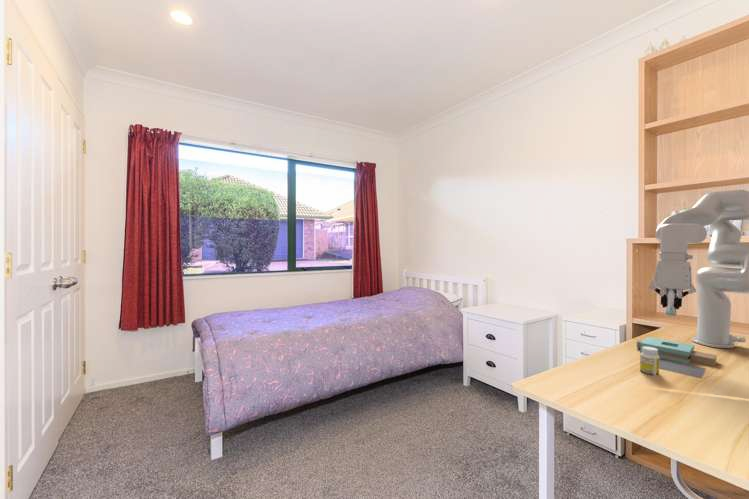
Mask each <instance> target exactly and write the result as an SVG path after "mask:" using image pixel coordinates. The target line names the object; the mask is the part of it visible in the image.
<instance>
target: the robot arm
mask: <svg viewBox="0 0 749 499" xmlns="http://www.w3.org/2000/svg"><path fill="white" fill-rule="evenodd" d="M731 221H749V190H746V189H733V190H720V191H713V192H709V193H707V194H705V195H703V196H702V197H701V198H700V199H699V200H698V201H697V202H696V203H695V204H694V205H693V206H692V207H691V208H689V209H685V210H683V211H680V212H678V213H675V214H672V215H670V216H668V217H666V218H665V219H664V220H663V221H662V222H660V224H659V225H658V226H657V228H656V229H655V238H656V240H657V241H658V242H660V246H659V260H657V261H656V264H655V269H654V274H653V281H652V282H651V283H650V284H649V286H648V288H649V289H651V290H653V291H655V292H656V293H657V294H658V295H659V297H660V305H661V306H662V308H664V309H665V307H666V288H667V289H677V298H676V305H675V309H676V310H679V309H680V308H682V306H683V305H682V304H683V298H684V297H686V296H688V295H691V294H695V293H696V292H698V300H697V301H698V302H697V303H698V304H697V320H696V321H697V322H696V323H697V324H696V336H692V337H691V341H692V342H693V343H696V344H698V345H703V346H707V347H711V348H719V349H733V348H735V347H736V344H735V343H736V342H737V343H746V338H745V337H741V336H738V337H737V335H732V334H731V310H732V303H731V300H730V298H729V296H728V295H726V293H725V292H727V293H728V292H729V293H736V294H747V295H748V294H749V243H748V242H747V243H746V242H741V238H742V231H741V230H740V229H739V227H738V226H736V225H735V224H734V223H732V222H731ZM706 226H710V228H711V238H710V241H709V247H708V250H707V254H706V255H707V256H706V260H707V262H708V263H709V264H711V265H714V266H704V267H702V268H699V269H698V270H697V272H696V275H695V279H696V285H697V286H696V287H697V289H696V288H695V286H694V284H693V283H692V279H693V278H692V267H691V262H689V261H688V260H693V258H694V257H693V255H692V254H688V246H689V245H695V244H700V243H702V242H704V241H705V240H706V239H707V236H708V230H707V229H706ZM734 267H737V268H734Z"/></svg>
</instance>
